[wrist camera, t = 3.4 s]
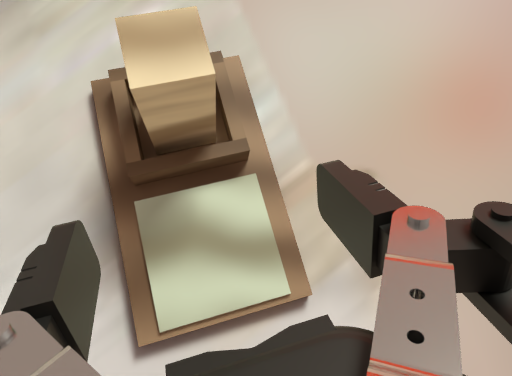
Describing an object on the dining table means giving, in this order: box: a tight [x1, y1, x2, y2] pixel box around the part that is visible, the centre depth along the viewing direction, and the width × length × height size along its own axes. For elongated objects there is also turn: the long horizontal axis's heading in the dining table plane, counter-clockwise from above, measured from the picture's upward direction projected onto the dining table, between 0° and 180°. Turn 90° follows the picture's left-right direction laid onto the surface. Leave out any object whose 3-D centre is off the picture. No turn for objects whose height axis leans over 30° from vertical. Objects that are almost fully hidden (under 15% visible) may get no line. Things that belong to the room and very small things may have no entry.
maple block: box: [115, 6, 216, 155], centre depth 24 cm, size 4×4×9 cm
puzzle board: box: [91, 51, 312, 347], centre depth 26 cm, size 20×12×3 cm, turn 16°
